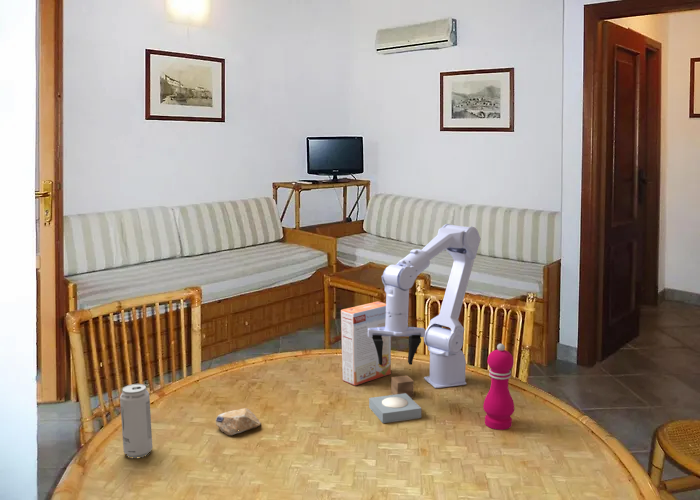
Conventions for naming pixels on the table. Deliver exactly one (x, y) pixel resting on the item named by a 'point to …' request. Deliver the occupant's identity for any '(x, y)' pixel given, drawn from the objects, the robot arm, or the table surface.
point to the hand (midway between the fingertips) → (395, 363)
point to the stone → (237, 421)
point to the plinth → (394, 408)
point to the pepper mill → (499, 390)
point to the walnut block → (402, 385)
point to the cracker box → (363, 344)
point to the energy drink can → (136, 420)
